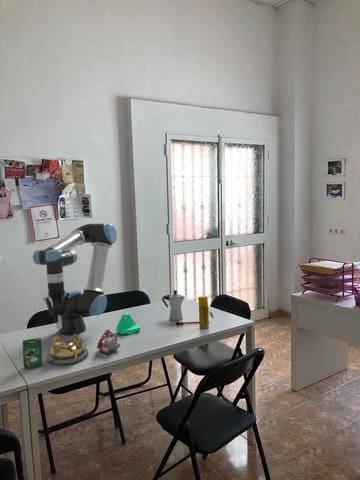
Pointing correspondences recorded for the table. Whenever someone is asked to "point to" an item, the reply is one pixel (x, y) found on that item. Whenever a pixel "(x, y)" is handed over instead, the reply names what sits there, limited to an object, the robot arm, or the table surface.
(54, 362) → the index base
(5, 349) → the table surface
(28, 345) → the coffee box
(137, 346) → the table surface
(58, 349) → the brass finned hub
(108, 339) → the brake caliper
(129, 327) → the camera mount
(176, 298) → the coffee maker
